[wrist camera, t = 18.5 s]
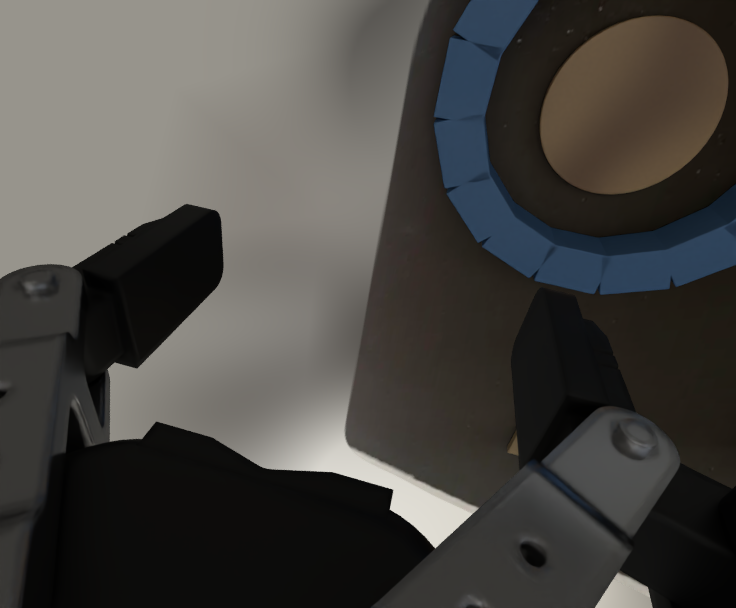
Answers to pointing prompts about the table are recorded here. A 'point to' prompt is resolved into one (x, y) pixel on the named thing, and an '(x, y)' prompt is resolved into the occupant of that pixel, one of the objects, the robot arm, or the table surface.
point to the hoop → (519, 227)
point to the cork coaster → (633, 104)
